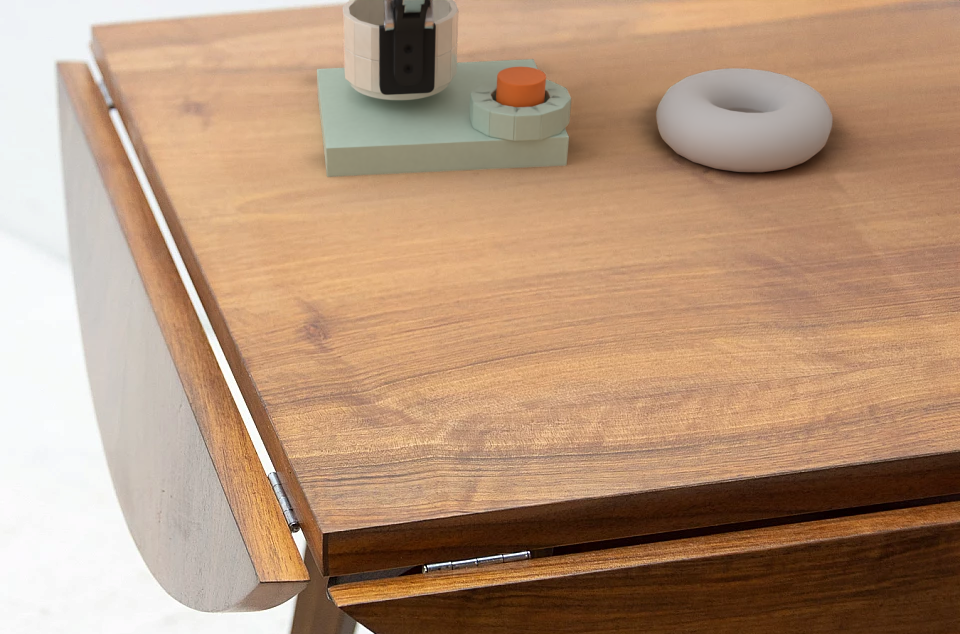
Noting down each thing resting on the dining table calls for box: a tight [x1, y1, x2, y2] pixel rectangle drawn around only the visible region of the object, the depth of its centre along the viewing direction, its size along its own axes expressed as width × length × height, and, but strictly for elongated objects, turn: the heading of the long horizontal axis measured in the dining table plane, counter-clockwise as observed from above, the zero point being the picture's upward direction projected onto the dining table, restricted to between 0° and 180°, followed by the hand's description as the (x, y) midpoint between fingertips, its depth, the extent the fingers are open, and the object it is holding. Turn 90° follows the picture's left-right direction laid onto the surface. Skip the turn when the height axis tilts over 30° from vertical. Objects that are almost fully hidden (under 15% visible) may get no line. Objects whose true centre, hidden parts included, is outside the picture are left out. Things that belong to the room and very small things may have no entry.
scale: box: [316, 58, 572, 178], centre depth 84 cm, size 14×12×4 cm
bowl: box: [342, 0, 460, 100], centre depth 84 cm, size 7×7×4 cm
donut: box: [655, 67, 834, 173], centre depth 81 cm, size 10×4×10 cm
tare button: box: [496, 67, 547, 107], centre depth 80 cm, size 3×3×2 cm
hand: (400, 65), depth 85 cm, fingers closed on bowl, 6 cm apart
